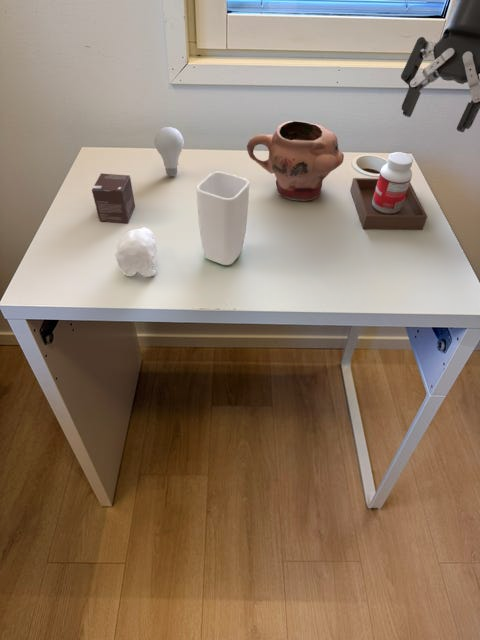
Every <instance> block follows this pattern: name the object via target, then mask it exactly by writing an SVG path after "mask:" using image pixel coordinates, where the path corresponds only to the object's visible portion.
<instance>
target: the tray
mask: <svg viewBox="0 0 480 640" xmlns="http://www.w3.org/2000/svg"><path fill="white" fill-rule="evenodd" d="M377 182H378V178H377V177H375V178H374V177H372V178H371V177H370V178H368V177H366V178H365V177H364V178H363V177H361V178H360V177H353V178H352V182H351V187H350V194H351V197H352V200H353V203H354V206H355V209H356V212H357V215H358V219H359V222H360V225H361V227H362V229H363V230H411V231H413V230H415V231H422V230H423V229H424V226H425V224H426V222H427V219H428V215H427V213H426V211H425V209H424V206H423V205H422V203H421V201H420V199H419V197H418V195H417V193H416V191H415V189H414V187H413V185H412V183H411V182H410V184H409V187H408V190H407V193H406V196H405V199H404V202H403V205H402V207H401V209H400V211H398V212H397V213H394V214H385V213H381V212H379V211H377V210H376V209H375V208H374V207H373V205H372V200H373V197H374V193H375V189H376V186H377Z"/></svg>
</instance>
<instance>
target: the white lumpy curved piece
mask: <svg viewBox="0 0 480 640" xmlns="http://www.w3.org/2000/svg"><path fill="white" fill-rule="evenodd" d="M114 255H115V259H116V260H115V261H116V262H117V264H118V267H119V268H120V269H121V270H122V274H123V275H124V276H126V277H133V276H135V275H137V273H139V274H140V275H142V276H143V277H147V278H150V277H153V276H156V274H157V270H155V269H153V268H152V267H156V266H157V244H156V241H155V236H154V233H153V231H152V230H151V229H150V228H148V227H144V226H141V227H139V228H134V229H130V230H129V231H127V232H126V233H125V234H124V235H123V236H122V237H120V239H119V241H118V243H117V246H116V252H115V254H114Z"/></svg>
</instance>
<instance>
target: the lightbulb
mask: <svg viewBox="0 0 480 640" xmlns="http://www.w3.org/2000/svg"><path fill="white" fill-rule="evenodd" d="M184 144H185V143H184V138H183V135H182V134H181V132H180V131H179V130H178V129H177V128H174V127H171V126H166V127H162V128H161V129H159V130H158V131H157V132H156V134H155V137H154V146H155V149H156V150H157V153H158V154H159V155H160V157H161V159H162V161H163V166H164V167H165V173H166V175H167V176H169V177H171V178H173V177H174V176H176V175H178V167H179V159H180V158H179V157H180V155H181V153H182V152H183V151H182V150H183V149H184Z"/></svg>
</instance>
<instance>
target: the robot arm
mask: <svg viewBox="0 0 480 640" xmlns="http://www.w3.org/2000/svg"><path fill="white" fill-rule="evenodd" d="M431 53H433V59H434V60H433V61H432V62H430V63H429V64H428V65H427V66H425V67H424V68H423V69H422V71H421V72H420V73H418V71H419V69H420V67H421V65H422V63H423V61H424V59H427V58H428V57H429V55H430V54H431ZM417 73H418V74H417ZM439 78H441V80H443V81H447V82H448V81H449V82H451V81H454V82H456V83H457V84H460V85H464V84H466V83H467V84H468V85H467V86H468V88H469V91H470V97H471V101H470V102H469V101H468V103H466V104H467V105H466V107H465V109H464V111H463V113H462V114H461V117H460V119H459V122H458V124H457V126H456V130H457V132H460V133H465V131H466V130H469V129H471V128H472V125H473V123H474V122H475V120H476V117H477V115H478V113H479V111H480V0H456V2H455V4H454V6H453V9H452V11H451V14H450V16H449V18H448V20H447V23H446V25H445V28H444V31H443V33H442V35H441V38H440V39H439V40H437V42H432V41H429V40H426V38H425V37H424V36H421V37H418V39H417V40H416V42H415V44H414V46H413V47H412V50H411V53H410V55H409V57H408V59H407V61H406V64H405V65H404V68H403V70H402V72H401V74H400V79H401V80H402V81H403V82H404V83H405V84H406V85H408V90H407V92H406V95H405V97H404V99H403V102H402V104H401V111H402V115H403V116H404V117H407V118H411V116H412V115H413V112H414V110H415V108H416V105H417V103H418V101H419V99H420V96H421V92H420V91H421V90H423V89H424V88H425V87H427V86H428V85H429V84H431V83H434V82H435V81H437V80H438V79H439Z"/></svg>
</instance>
